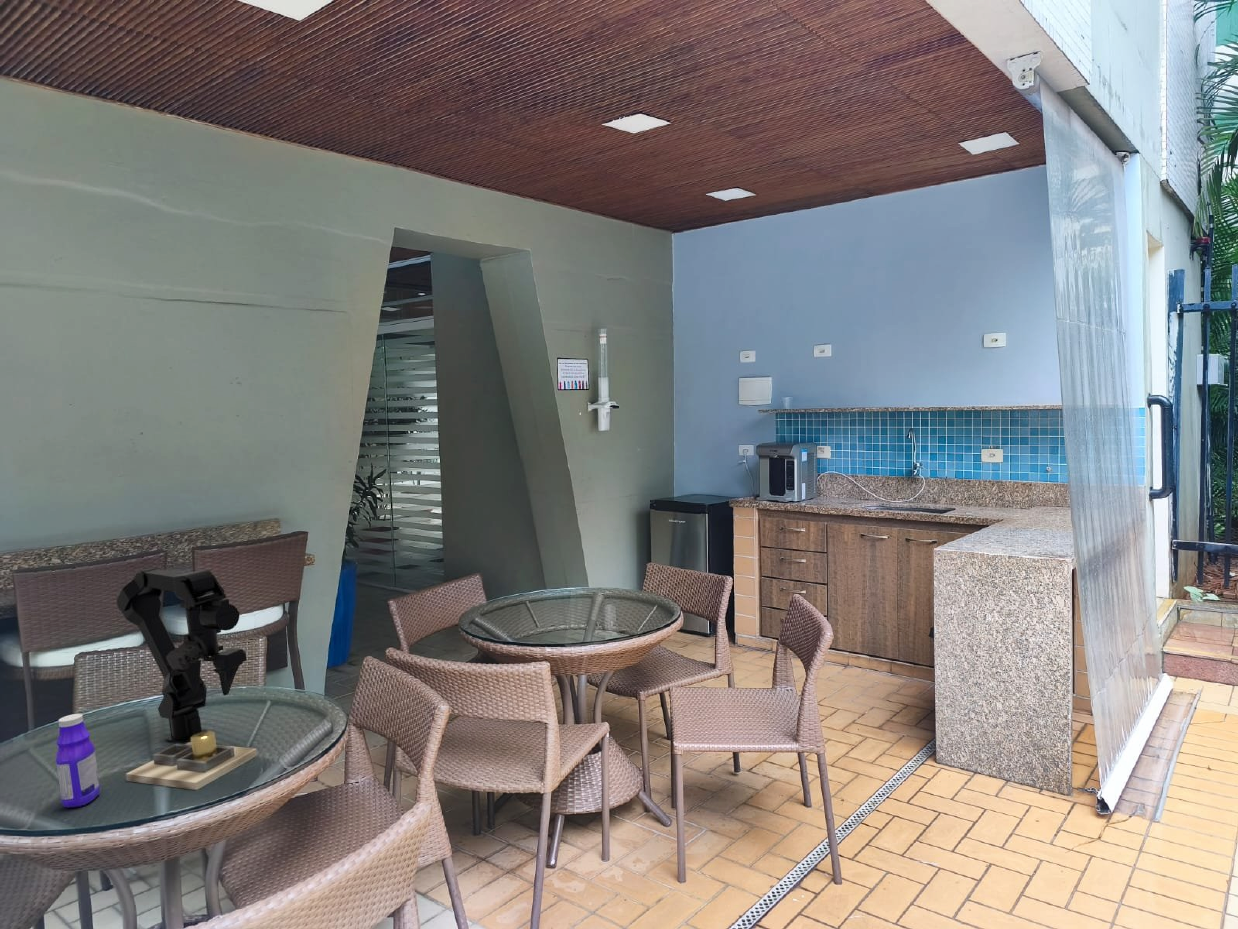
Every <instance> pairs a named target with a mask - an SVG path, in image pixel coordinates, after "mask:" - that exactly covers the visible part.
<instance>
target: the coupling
mask: <svg viewBox="0 0 1238 929" xmlns="http://www.w3.org/2000/svg"><path fill="white" fill-rule="evenodd" d="M190 742H191V745H192V753H193V760H197V761H206V760H207V759H209V758H211V757H213V756H215V755H217V747H216V745H217V741H216V732H215V731H214V730H207V731H205V732H200V733H197V734H195V735H193V736H192V737H191V740H190Z"/></svg>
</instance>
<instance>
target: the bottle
mask: <svg viewBox="0 0 1238 929" xmlns="http://www.w3.org/2000/svg"><path fill="white" fill-rule="evenodd" d="M58 727H59V734H58V737H57V739H56V745H57V746H58V750H57V752H56V758H55V761H56V762H55V763H56V767H57V768H56V769H57V777H58V782H59V790H60V791H59V792H60V798H61V799H60V800H61V804H62V806H63V807H65V808H66V807H67V808H70V807H71V808H77V807H78V806H79V807H82V805H83V806H86V805H87V804H89V803H90V802H92V801H93V800H95V799H96V798H97V797H98V795H99V794H100V789H101V786H100V779H99V774H98V766H97V759H96V758H97V756H96V751H95V749H96V748H95V746H94V743H93V742H92V740H90V737H91V733H90V732H89V731H88V730H87V728H86V725H85V723H84V716H83V714H82V713H73V714H69V715H66V716H62V717H60V718H59V719H58ZM71 808H70V809H71Z"/></svg>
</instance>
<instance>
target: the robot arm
mask: <svg viewBox="0 0 1238 929" xmlns="http://www.w3.org/2000/svg"><path fill="white" fill-rule="evenodd" d="M164 591H166V592H167V591H168V592H173V593H175V597H177V598H178V599H180V600H183V601H182V602H181V603H180V605H179V607H180V608H182V609H184V611H185V618H186V626H187V633H185V634H183V638H182V639H183V643H181V644H179V645H178V646H177V647H176V646H175V644H174V642H173V640H172V638H171V636H170V633H169V632H168V630H167V628H166V626H165V624H164V622H163V620H162V618H161V615H160V613H161V609H162V600H161V597H162V596H163V593H164ZM116 605H117V608H118V610H119V611H120V612H121V613H122V615H123V617H124V619H125V620H126V621H128V622H130V623H132V624H133V625H135V626H137V627H138V628H139V630H140V633H141V635H142V637H143V638H144V640H145V643H146V646H147V647H148V649H149V650H150V651H149V652H151V655H152V657H153V660H154V661H155V663H156V665H157V667H158V670H159V672H160V673H161V676H162V677H163V683H162V689H161V693H162V695H163V698H162V700H161V702H160V704H159V706H158V707H157V710H158V715H159V716H160V718H165V719H167V720H168V724H169V731H170V736H169V737H166V738H165V741H166V742H172V743H178V744H187V743H189V742H191V737H192V736H193V735H195V734H197V733H200V732H205V731H208V730H207V729H202V723H201V722H202V720H201V717H200V712H199V709H200V708H204V707H206V703H207V694H208V693H207V692H208V690H207V689H208V688H207V686H206V684H205V681H204V680H203V678H202V677H201V668H202V665H201V664H202V662H212V665H213V666H214V668H213V669H212V670H213V671H214V672H215V673H217V674H218V676H219V683H220V688H221V691H222V694H223V696H227V695H229V693H230V691H231V688H232V684H233V682H234V679H235V676H236V674H237V672H238V670H239V667H240V666H241V665H243V663H244V662H247V660H248V659H247V652H246V650H244V649H243V648H229V649H226V650H224V645H222V644H219V638H218V634H220V633H222V631H225V632H226V631H230V630H233V629H234V628H235V627H236V626H237V624H239V621H240V611H239V610H238V608H237V607H236V606H235V605H233V604H230V599H229V598H227V596H226V594H225V589H224V588H223V587H222V585H221V584H220V583H219V582H218V579H217V578H216V576H215V575H214V574H213V573H212V571H210V570H209V569H203V570H202V569H201V570H196V571H191V572H180V571H175V570H167V569H162V568H159V567H153V568H149V569H144V570H140V571H139V572H137V573H136V574H135V576H134V577H133V579H132V580H131V581H130V582H129V583H127V584H126V585H124V587H122V589H121V590H120V593H119V595H118V596H117V599H116Z"/></svg>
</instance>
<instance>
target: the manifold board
mask: <svg viewBox="0 0 1238 929" xmlns="http://www.w3.org/2000/svg"><path fill="white" fill-rule="evenodd" d="M216 747H217V755H215V756H213V757H211V758H209V759H207V760H206V761H197V760H193V753H192V745H191V741H188V742H186V743H175V744H173V745H170V746H169V747H167V748H165V749H162V750H160V751H158V752H156V753H154V754H152V758H153V760H151V761H148V762H146V763H144V764H143V765H141V766H139V767H137V768H134V769H132V770H131V771H129V772H127V773H125V778H126V782H134V783H141V784H147V785H148V784H149V785H155V786H164V787H173V788H180V789H187V790H193V791H198V790H199V789H201V788H203V787H204V786H206V785H208V784H210V783H212V782H214V781H215V780H217V779H219V778H220V777H222V776H224V775H226V774H228V773H229V772H231V771H233V770H235V769H237V768H238V767H240V766H241V765H243V764H245V763H247V762H249V761H251V760H252V759H254V758H256V757H258V749H257V748H254V747H253V748H252V747H242V746H241V747H240V746H231V745H223V744H216Z"/></svg>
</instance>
